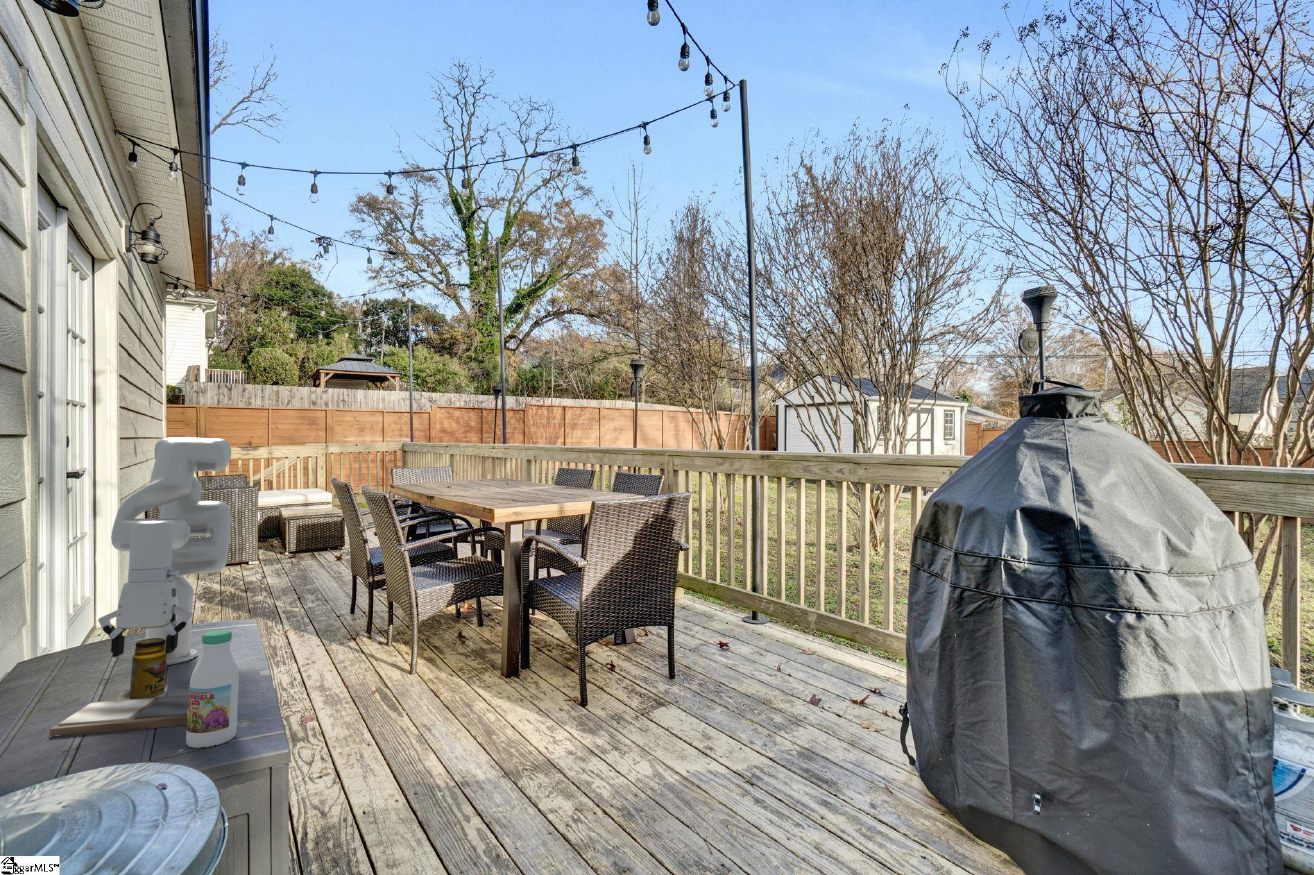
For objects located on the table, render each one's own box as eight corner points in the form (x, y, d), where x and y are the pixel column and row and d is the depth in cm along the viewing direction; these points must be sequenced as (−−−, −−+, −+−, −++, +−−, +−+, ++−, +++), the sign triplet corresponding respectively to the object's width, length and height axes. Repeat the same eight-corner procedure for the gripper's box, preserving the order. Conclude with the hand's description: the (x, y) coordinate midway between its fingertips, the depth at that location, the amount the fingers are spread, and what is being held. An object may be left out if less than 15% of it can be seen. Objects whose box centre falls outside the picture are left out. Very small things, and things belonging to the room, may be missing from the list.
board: (91, 709, 130) (92, 700, 130) (224, 698, 137) (225, 690, 137) (49, 737, 116) (50, 727, 116) (199, 723, 124) (199, 714, 124)
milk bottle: (202, 731, 120) (208, 627, 121) (244, 731, 121) (250, 627, 122) (175, 749, 112) (182, 637, 113) (220, 748, 113) (226, 637, 114)
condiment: (164, 697, 137) (168, 642, 138) (114, 704, 133) (118, 647, 133) (168, 687, 143) (171, 634, 144) (120, 693, 139) (123, 639, 139)
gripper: (201, 572, 145) (196, 646, 144) (111, 575, 140) (106, 652, 139) (188, 576, 138) (183, 655, 137) (93, 579, 133) (86, 661, 132)
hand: (144, 653), depth 138 cm, fingers open, 9 cm apart
